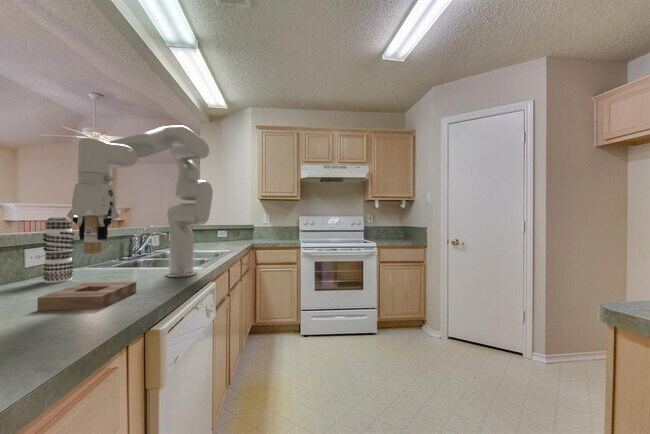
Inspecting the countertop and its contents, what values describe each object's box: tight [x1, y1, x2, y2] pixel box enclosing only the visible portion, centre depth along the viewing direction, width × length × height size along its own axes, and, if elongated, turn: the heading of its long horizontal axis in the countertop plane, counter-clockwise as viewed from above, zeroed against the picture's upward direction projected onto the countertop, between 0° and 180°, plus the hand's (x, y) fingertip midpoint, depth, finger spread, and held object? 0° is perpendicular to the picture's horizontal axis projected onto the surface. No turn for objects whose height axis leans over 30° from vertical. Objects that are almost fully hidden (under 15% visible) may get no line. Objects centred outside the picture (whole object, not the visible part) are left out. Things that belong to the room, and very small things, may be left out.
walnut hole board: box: [36, 281, 137, 311], centre depth 87 cm, size 18×16×4 cm
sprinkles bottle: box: [83, 210, 103, 255], centre depth 87 cm, size 5×5×14 cm
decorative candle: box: [42, 216, 75, 284], centre depth 112 cm, size 9×9×25 cm
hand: (93, 238), depth 87 cm, fingers closed on sprinkles bottle, 4 cm apart
